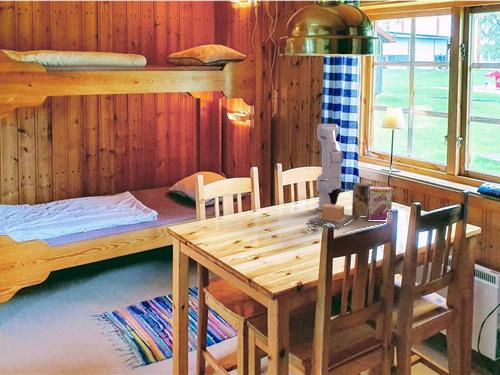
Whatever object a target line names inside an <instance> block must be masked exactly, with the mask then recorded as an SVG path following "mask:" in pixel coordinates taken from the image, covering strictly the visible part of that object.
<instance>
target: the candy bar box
mask: <svg viewBox="0 0 500 375" xmlns="http://www.w3.org/2000/svg"><path fill="white" fill-rule="evenodd" d="M393 191H394V189H393V188H392V187H386V186H385V187H384V186H383V187H382V186H373V187H369V188H368V203H367V216H366V218H367V219H366V218H365V219H366V221H367V220H386V218H387V212H388V210H389V209H391V210H392V206H393V205H392V204H393V194H394V193H393Z"/></svg>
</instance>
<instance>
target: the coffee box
mask: <svg viewBox="0 0 500 375" xmlns="http://www.w3.org/2000/svg"><path fill="white" fill-rule="evenodd" d="M369 187H374V186H373V183H365V182H364V183H362V182H354V183H353V185H352V203H351V204H352V206H351V213H352V214H351V215H352V216H367V203H368V188H369Z"/></svg>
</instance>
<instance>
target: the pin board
mask: <svg viewBox="0 0 500 375" xmlns="http://www.w3.org/2000/svg"><path fill="white" fill-rule="evenodd" d="M355 218H357V219H358V217H357V216H352V214H346V213H344V219H342V220H341V221H338V220H331V219H324V218H322V213H320V214H319V215H317V216H315V217H313V218H310V219H308V221H307V222H310V223H309V224H311V223H317V224H321V225H324V224H327V223H331V224H333V225H334V226H335V227H338V228H339V227H341V226H343V225H344V224H346V223H348V222H349V221H351V220H353V219H355ZM355 220H356V219H355ZM353 221H354V220H353ZM348 224H349V223H348ZM321 225H320V226H321ZM335 227H334V228H333V229H336V228H335ZM343 227H344V226H343Z"/></svg>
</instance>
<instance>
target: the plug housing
mask: <svg viewBox="0 0 500 375" xmlns="http://www.w3.org/2000/svg"><path fill="white" fill-rule="evenodd" d="M321 214H322V218H324V219H331V220H338V221H341V220H342V219H344V214H345V206H344V205H342V206H341V205H336V204H335V205H330V204H324V205H323V206H322V211H321Z"/></svg>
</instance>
